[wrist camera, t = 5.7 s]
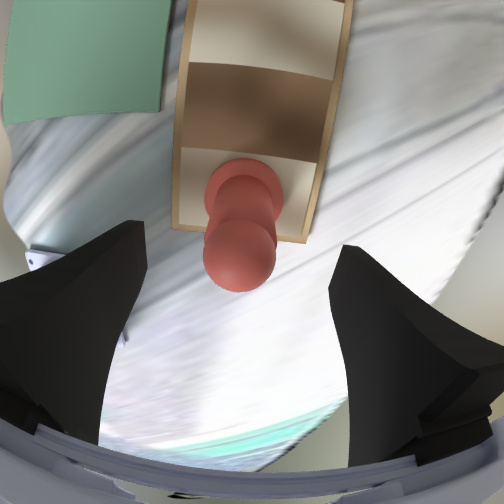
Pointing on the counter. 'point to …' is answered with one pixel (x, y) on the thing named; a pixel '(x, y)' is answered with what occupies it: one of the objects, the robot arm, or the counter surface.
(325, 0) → the board
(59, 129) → the counter surface
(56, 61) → the felt mat
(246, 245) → the pawn
